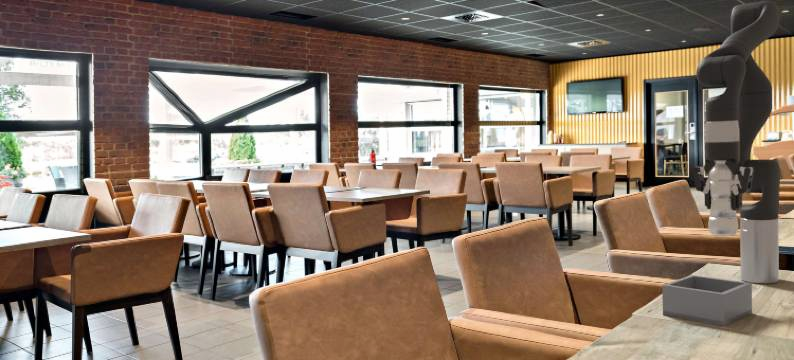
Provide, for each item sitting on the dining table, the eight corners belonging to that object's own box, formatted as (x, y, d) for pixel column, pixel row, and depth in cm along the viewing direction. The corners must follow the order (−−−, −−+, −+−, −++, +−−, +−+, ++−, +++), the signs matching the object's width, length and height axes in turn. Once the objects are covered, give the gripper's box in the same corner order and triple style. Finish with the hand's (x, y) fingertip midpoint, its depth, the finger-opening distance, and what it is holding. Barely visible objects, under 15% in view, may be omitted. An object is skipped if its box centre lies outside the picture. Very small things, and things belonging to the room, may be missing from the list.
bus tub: (692, 303, 165) (691, 274, 164) (752, 313, 154) (751, 283, 153) (662, 314, 156) (662, 285, 155) (724, 326, 145) (723, 294, 144)
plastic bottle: (709, 233, 168) (708, 153, 167) (740, 234, 165) (738, 152, 163) (706, 237, 162) (704, 155, 161) (737, 238, 159) (736, 154, 158)
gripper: (760, 138, 159) (760, 209, 160) (700, 139, 170) (701, 206, 171) (746, 140, 154) (747, 213, 155) (685, 141, 165) (686, 209, 166)
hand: (723, 209), depth 163 cm, fingers closed on plastic bottle, 5 cm apart
